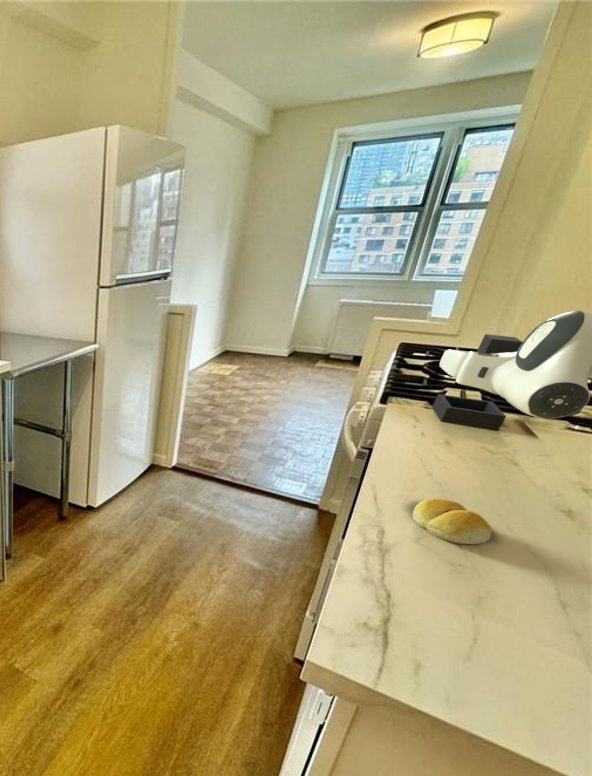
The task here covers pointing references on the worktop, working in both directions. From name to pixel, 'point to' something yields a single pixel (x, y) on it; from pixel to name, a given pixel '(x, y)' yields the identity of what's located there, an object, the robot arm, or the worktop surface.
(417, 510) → the bread roll
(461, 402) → the black open rectangular box
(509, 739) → the worktop surface
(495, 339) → the dark grey block
